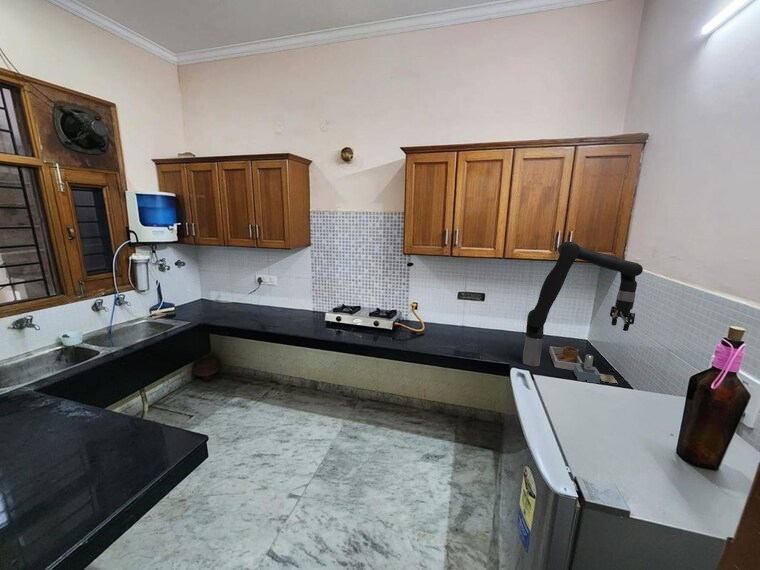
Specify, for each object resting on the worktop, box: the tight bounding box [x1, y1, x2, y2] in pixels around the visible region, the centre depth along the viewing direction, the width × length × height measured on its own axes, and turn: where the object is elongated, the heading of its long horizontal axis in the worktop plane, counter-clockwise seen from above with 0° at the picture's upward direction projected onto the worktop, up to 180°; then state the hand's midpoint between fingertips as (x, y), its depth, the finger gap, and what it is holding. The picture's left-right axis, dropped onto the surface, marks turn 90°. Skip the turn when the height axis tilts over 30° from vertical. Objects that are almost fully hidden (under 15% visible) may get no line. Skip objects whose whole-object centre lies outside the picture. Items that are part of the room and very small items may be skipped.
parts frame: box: [548, 345, 583, 371], centre depth 193 cm, size 14×24×4 cm, turn 159°
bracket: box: [553, 345, 580, 363], centre depth 193 cm, size 18×8×7 cm, turn 119°
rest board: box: [600, 373, 619, 385], centre depth 171 cm, size 7×9×1 cm
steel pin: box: [583, 353, 595, 370], centre depth 171 cm, size 4×4×13 cm
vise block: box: [573, 361, 601, 384], centre depth 172 cm, size 10×10×7 cm
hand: (619, 327), depth 171 cm, fingers open, 8 cm apart
